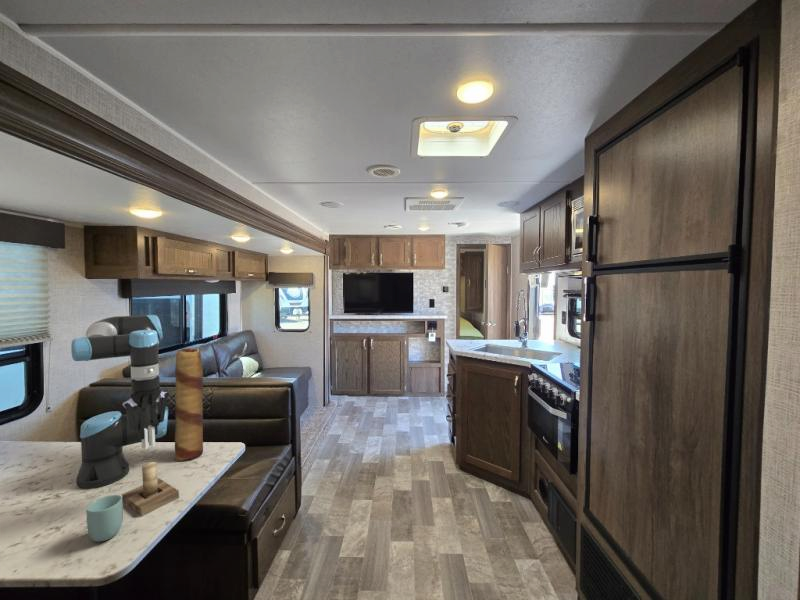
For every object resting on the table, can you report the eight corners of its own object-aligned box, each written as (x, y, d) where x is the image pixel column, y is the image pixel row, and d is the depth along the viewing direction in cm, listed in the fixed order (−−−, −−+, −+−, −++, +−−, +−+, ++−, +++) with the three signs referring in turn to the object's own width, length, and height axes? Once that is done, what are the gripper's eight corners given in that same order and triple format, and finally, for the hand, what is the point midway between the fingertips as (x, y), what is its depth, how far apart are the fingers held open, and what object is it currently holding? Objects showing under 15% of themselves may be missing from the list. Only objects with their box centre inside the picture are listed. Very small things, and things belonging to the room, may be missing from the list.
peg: (141, 500, 116) (139, 466, 116) (154, 494, 120) (153, 460, 119) (147, 504, 114) (145, 469, 114) (160, 498, 118) (159, 464, 117)
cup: (102, 527, 104) (100, 495, 103) (129, 525, 105) (128, 493, 104) (80, 547, 96) (78, 512, 96) (110, 545, 97) (108, 511, 96)
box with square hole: (122, 501, 116) (122, 494, 116) (159, 484, 125) (158, 478, 125) (141, 516, 109) (141, 508, 109) (178, 497, 118) (178, 490, 118)
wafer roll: (203, 447, 154) (202, 346, 152) (203, 458, 144) (202, 350, 142) (176, 452, 148) (174, 348, 146) (174, 464, 139) (172, 353, 137)
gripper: (124, 384, 107) (127, 459, 108) (174, 373, 119) (177, 440, 120) (114, 380, 110) (117, 452, 112) (164, 370, 123) (166, 435, 124)
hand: (148, 446), depth 116 cm, fingers closed
